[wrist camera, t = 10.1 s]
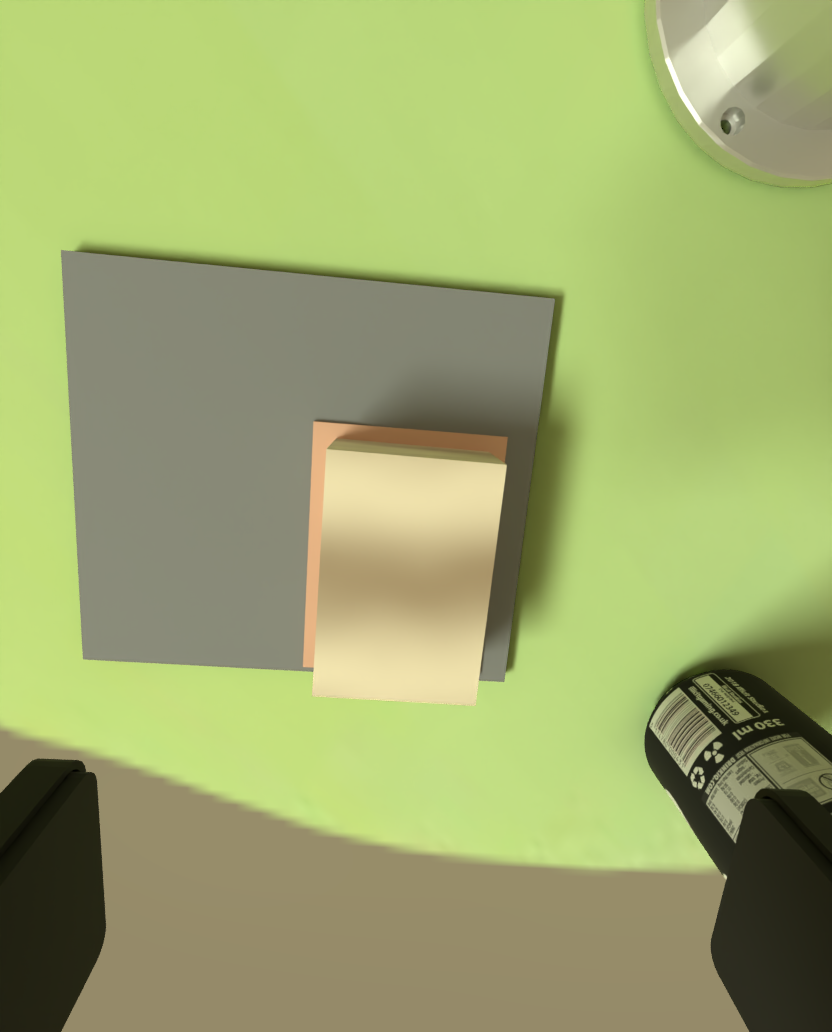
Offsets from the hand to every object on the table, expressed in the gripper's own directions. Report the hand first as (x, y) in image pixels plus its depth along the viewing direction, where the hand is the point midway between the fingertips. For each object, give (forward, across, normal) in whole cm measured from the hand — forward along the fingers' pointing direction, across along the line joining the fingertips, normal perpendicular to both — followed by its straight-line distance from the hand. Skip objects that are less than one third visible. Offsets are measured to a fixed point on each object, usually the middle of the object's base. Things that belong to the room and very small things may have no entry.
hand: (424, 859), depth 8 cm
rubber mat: (+16, +4, -2) cm, 17 cm away
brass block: (+16, 0, 0) cm, 16 cm away
